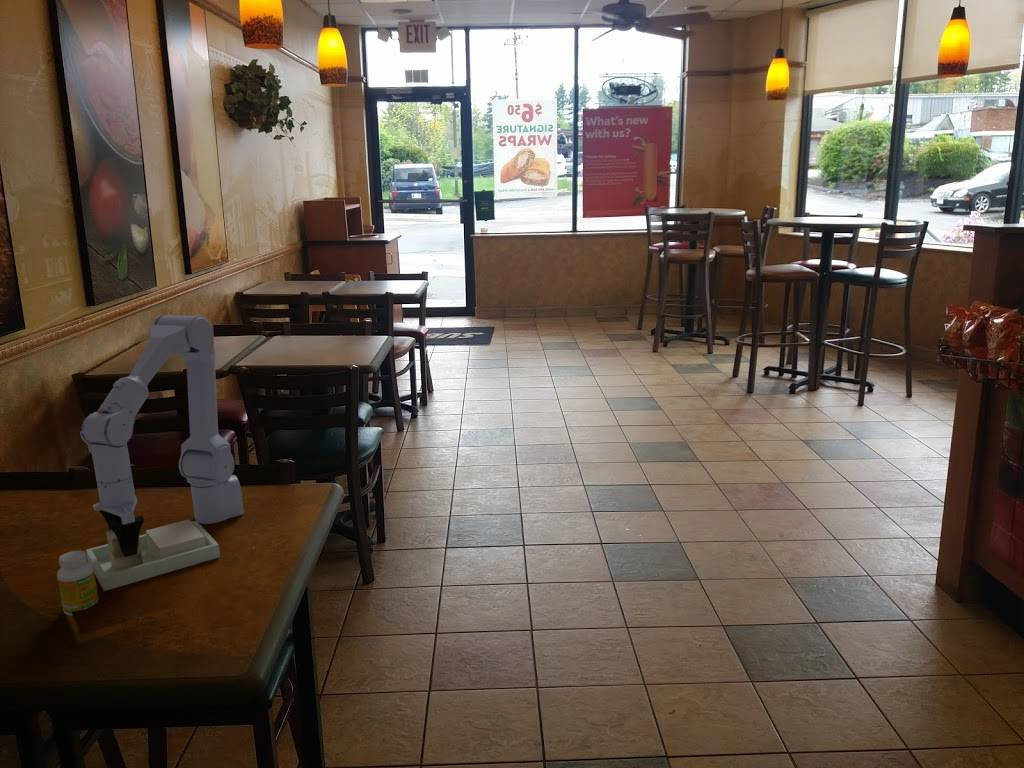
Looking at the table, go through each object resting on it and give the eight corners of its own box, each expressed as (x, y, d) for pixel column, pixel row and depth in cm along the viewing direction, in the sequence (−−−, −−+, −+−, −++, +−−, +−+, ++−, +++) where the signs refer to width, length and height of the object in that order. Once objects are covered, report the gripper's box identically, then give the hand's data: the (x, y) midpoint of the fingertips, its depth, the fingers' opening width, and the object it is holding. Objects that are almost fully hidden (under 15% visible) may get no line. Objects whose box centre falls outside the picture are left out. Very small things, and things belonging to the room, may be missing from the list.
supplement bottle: (84, 618, 134) (75, 564, 132) (56, 615, 136) (46, 562, 133) (106, 601, 140) (97, 549, 137) (79, 599, 141) (69, 547, 138)
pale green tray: (198, 536, 164) (196, 520, 163) (220, 561, 153) (218, 544, 152) (88, 566, 152) (86, 549, 151) (104, 595, 141) (101, 577, 141)
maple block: (137, 558, 153) (132, 524, 151) (143, 567, 149) (138, 532, 147) (111, 566, 150) (106, 531, 148) (117, 575, 147) (111, 539, 145)
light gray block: (191, 538, 161) (188, 519, 160) (207, 555, 153) (204, 536, 152) (148, 549, 156) (145, 530, 155) (162, 568, 149) (159, 548, 148)
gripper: (81, 471, 149) (93, 540, 152) (98, 495, 137) (110, 568, 141) (123, 462, 153) (133, 529, 156) (142, 484, 142) (153, 556, 145)
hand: (125, 547), depth 149 cm, fingers open, 7 cm apart
